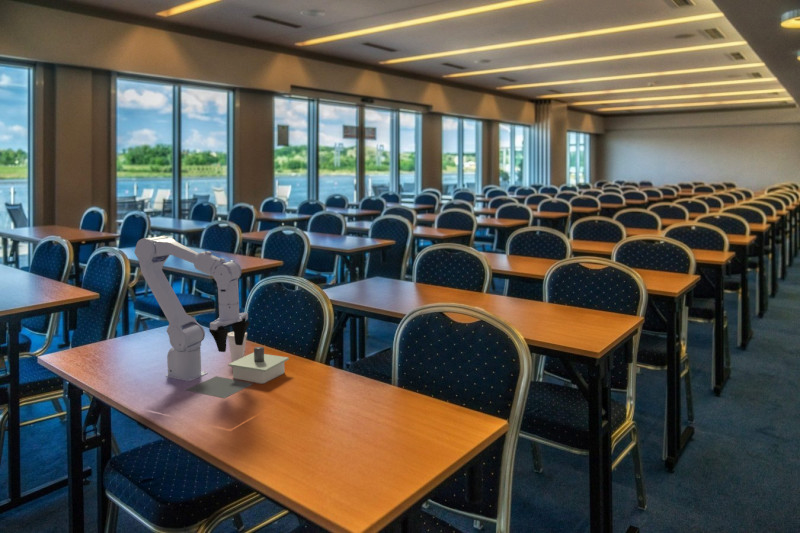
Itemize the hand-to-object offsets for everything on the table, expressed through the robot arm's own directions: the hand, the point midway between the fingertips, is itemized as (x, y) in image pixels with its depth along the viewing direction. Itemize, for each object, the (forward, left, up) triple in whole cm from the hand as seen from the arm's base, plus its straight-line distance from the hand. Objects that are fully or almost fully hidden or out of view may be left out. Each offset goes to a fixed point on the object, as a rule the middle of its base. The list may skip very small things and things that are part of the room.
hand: (230, 348), depth 177 cm
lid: (+5, +7, -6) cm, 10 cm away
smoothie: (-11, +16, -11) cm, 22 cm away
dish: (+4, +7, -10) cm, 14 cm away
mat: (0, -6, -10) cm, 12 cm away
